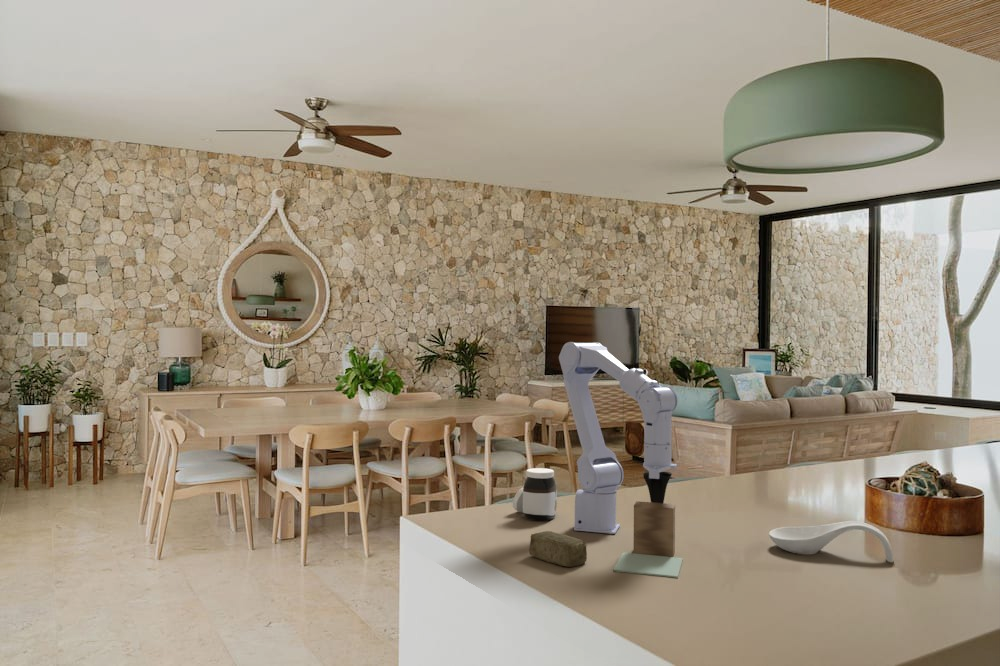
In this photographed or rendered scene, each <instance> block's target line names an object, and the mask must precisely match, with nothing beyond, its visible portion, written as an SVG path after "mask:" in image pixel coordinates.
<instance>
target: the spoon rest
mask: <svg viewBox="0 0 1000 666" xmlns="http://www.w3.org/2000/svg"><path fill="white" fill-rule="evenodd" d="M855 530H857V531H862V532H863V531H864V532H866V533H869V534H871V535H872V536H874V537H876V538H877V539H878V540H879V542H881V544H882V547H883V549H884V555H885V559H886V561H887V562H888V563H894V552H893V549H892V545H891V543H890V540H889V539H888V538H887V536H886V534H885V533H884V532H883V531H882V530H880V529H878V528H877V527H876V526H874V525H871V524H869V523H865V522H863V521H857V520H846V521H840V522H839V521H838V522H833V523H828V524H821V525H811V526H810V525H809V526H808V525H807V526H805V525H804V526H800V525H798V526H796V525H795V526H783V527H777V528H774V529H772V530H770V531H769V533H768V536H769V538H770V539H771V541H772V542H773V543H774V544H775V545H776V546H777V547H778V548H780V549H781V550H783V551H786V552H788V553H792V554H796V553H797V554H798V555H814V554H817V553H818V552H819V551H820V550H822V549H823V548H825V547H826V546H827V545H828V544H829V543H830V542H832V541H833V540H835V539H836V538H837V537H839V536H840V535H843V534H844V533H846V532H849V531H855Z"/></svg>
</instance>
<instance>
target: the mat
mask: <svg viewBox="0 0 1000 666" xmlns="http://www.w3.org/2000/svg"><path fill="white" fill-rule="evenodd" d="M683 560H684V558H683V557H675V556H673V557H666V556H655V555H645V554H635V553H634V552H633V553H632V552H622V554H621V556H620V557H619V559H618V560H617V562H616V564H615V566H614V568H613V572H618V573H628V574H629V573H630V574H639V575H647V576H656V577H663V578H664V577H665V578H667V577H668V578H672V579H673V578H675V579H678V578H679V576H680V571H681V568H682V564H683V562H684V561H683Z"/></svg>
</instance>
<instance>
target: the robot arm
mask: <svg viewBox="0 0 1000 666" xmlns="http://www.w3.org/2000/svg"><path fill="white" fill-rule="evenodd" d="M558 361H559V364H560V367H561V371H562V375H563V384H564V388H565V391H566V395H567V398H568V402H569V407H570V409H571V413H572V416H573V420H574V425H575V427H576V431H577V435H578V438H579V442H580V446H581V448H582V454H581V455H580V456H579V458H578V459H577V461H576V466H577V480H578V483H579V485H580V487H581V488H582V489H577V490H576V492H575V497H574V527H573V530H574V531H576V532H577V531H578V532H580V531H581V532H589V533H599V534H600V533H601V534H609V535H610V534H611V535H614V534H616V533H617V531H618V530H619V528H620V527H621V524H620V523H617V491H619V488H620V486H621V485H622V483H623V481H624V479H625V477H624V476H625V475H624V468H623V467H622V465H621V463H620V462H619V460H618V458H617V455H616V453H615V452H614V451H612V450H611V449H610V448H608V447H607V446H606V444H605V443H606V442H605V439H604V435H603V432H602V429H601V425H600V421H599V419H598V416H597V411H596V409H595V405H594V402H593V398H592V394H591V391H590V387H589V383H590V380H592V379H593V378H594V377H595V375H596V374H598V373H597V372H598V371H599V370H601V371H603V372H605V373H606V374H607V375H609V376H611V377H612V378H614V379H615V380H617V381H618V382H619V383H618V384H619V389H621V390H622V392H625V394H627V395H628V396H630V397H631V398H632V399H633V400H634V401H636V402H637V404H638V407H639V410H641V413H642V420H643V422H644V424H643V425H644V426H643V427H644V428H643V430H644V431H643V432H644V433H643V434H644V436H643V437H644V438H643V441H644V442H643V450H644V451H643V452H644V453H643V455H644V456H643V461H644V462H643V463H642V467H643V469H645V470H647V471H645V472H643V475H642V476H643V479H644V481H645V484H646V485H647V488H648V492H649V499H650V502H653V503H665V499H666V498H665V496H666V490H667V486H668V484H669V481H670V479H671V477H672V474H673V473H672V472H670V471H668V470H672V469H673V470H675V469H677V468H678V464H677V463H672V424H673V423H672V422H673V421H672V413H673V412H674V411H675V410H676V409H677V405H678V396H677V393H676V391H674V389H672V387H671V386H669V385H663V386H661V385H660V384H659V382H658V381H657V380H654V379H651V378H650V377H648V375H646V374H644V372H645V371H644V370H643V369H642V368H635V367H633V368H630V369H629V368H628V367H626V365H624V364H623V363H622V362H621V361H620V360H618V359H617V358H616V357H615V356H614V355H613V354H612V353H610V352H609V351H608V347H606V346H604V345H602V344H601V342H597V341H593V342H574V341H568V342H565V344H563V346H562V348H561V351H560V353H559V356H558Z"/></svg>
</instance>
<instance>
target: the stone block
mask: <svg viewBox="0 0 1000 666" xmlns="http://www.w3.org/2000/svg"><path fill="white" fill-rule="evenodd" d="M528 549H529V550H528V551H529V555H531V557H533V558H536V559H538V560H541V561H544V562H546V563H551V564H553V565H557V566H560V567H566V568H572V567H573V568H574V567H576V566H581V565H583V564H585V563H586V562H587V559H588V558H587V555H588V554H587V551H588V550H587V544H586V543H585V541H584V540H583V539H580V538H576V537H574V536H570V535H566V534H562V533H558V532H554V531H549V530H547V531H542V532H535V533H531V536H530V542H529V548H528Z"/></svg>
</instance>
